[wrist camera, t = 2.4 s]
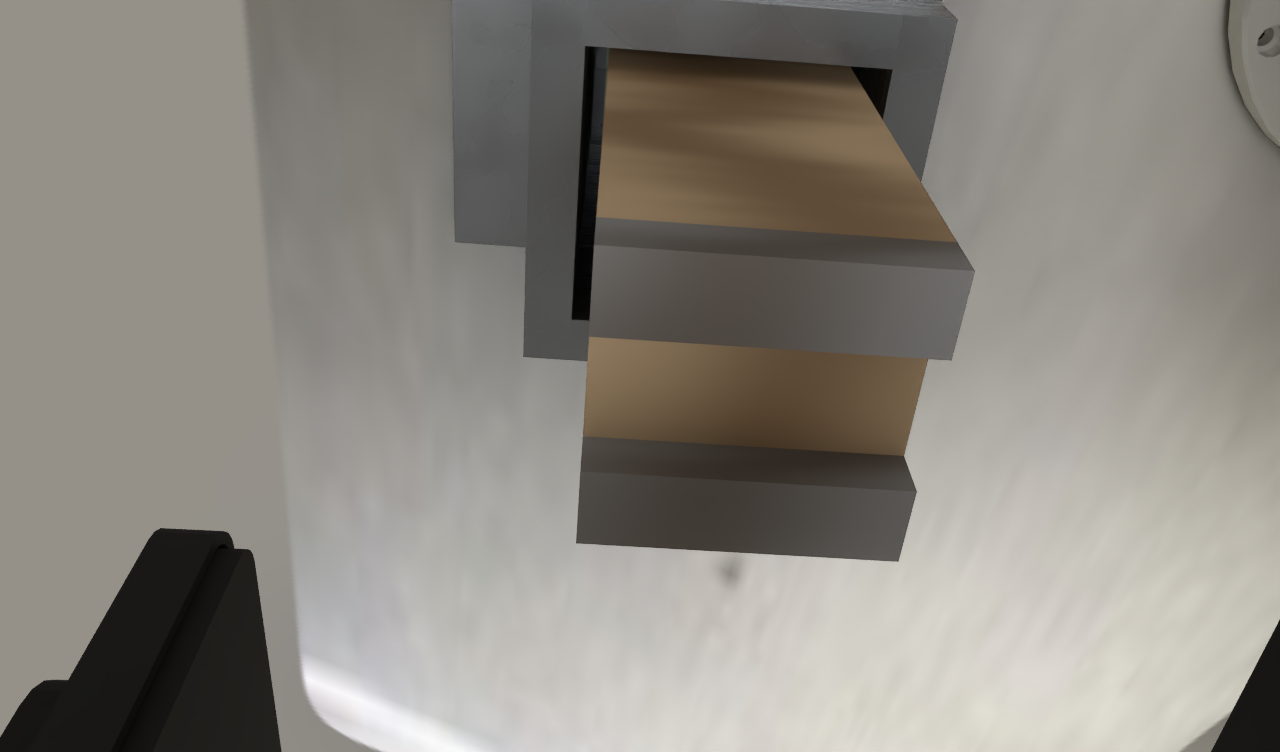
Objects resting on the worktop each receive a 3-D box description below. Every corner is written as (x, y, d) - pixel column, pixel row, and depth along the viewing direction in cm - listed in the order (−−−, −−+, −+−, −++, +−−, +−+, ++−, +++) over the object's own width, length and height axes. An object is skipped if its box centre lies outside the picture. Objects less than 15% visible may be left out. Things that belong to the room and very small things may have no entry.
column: (787, -41, 28) (980, 266, 12) (764, 126, 30) (900, 564, 15) (615, -55, 28) (589, 241, 12) (605, 115, 30) (572, 546, 15)
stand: (970, -215, 28) (1197, -168, 16) (874, 250, 34) (988, 507, 23) (456, -261, 27) (332, -244, 16) (461, 222, 34) (376, 471, 23)
